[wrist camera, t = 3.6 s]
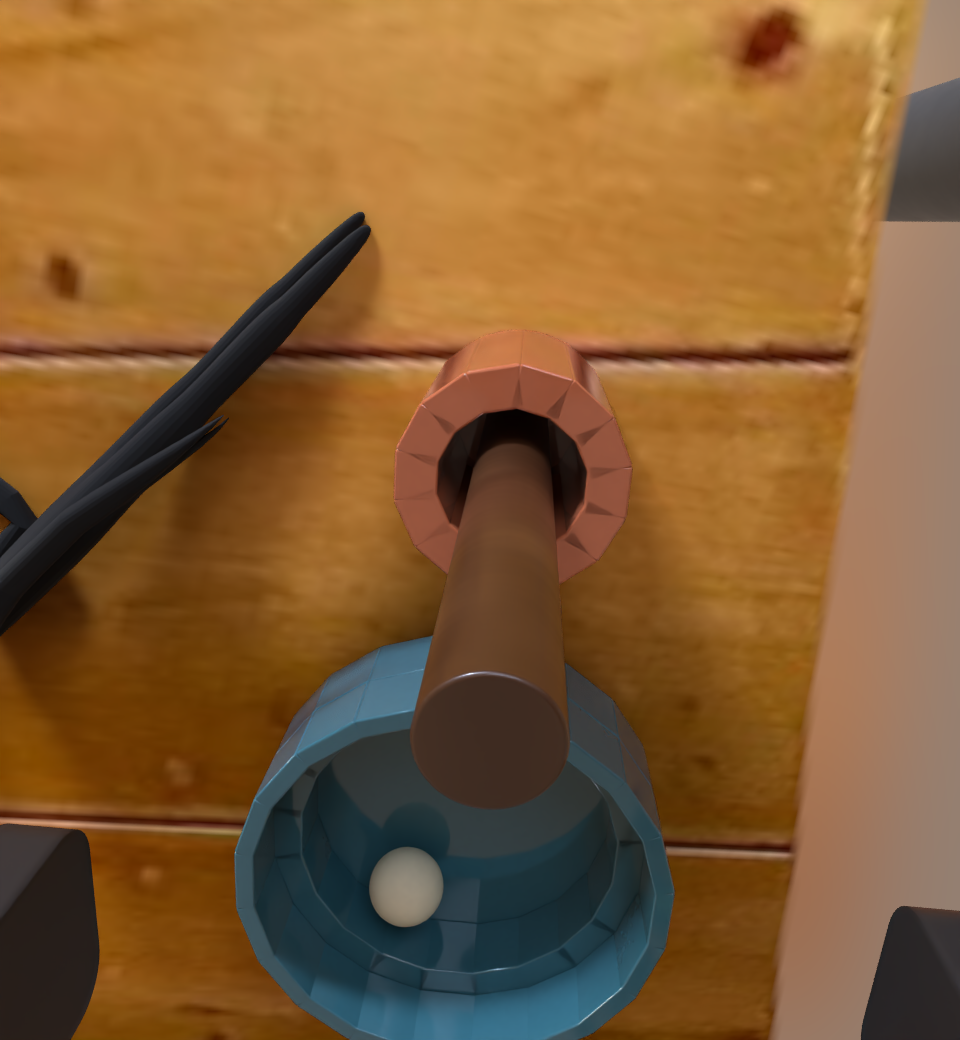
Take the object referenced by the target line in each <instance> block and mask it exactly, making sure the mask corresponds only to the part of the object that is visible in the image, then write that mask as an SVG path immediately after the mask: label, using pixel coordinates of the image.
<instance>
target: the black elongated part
mask: <svg viewBox="0 0 960 1040" xmlns="http://www.w3.org/2000/svg"><path fill="white" fill-rule="evenodd" d="M364 219H365V214H364V213H363V212H358V213H356V214H354V215H352V216H351V217H350V218H348V219H347V220H346V221H344V222H343V223H342V224H341V225H340V226H338V227H337V228H336V229H335V230H334V231H333V232H331V233H330V234H329V235H328V236H327V237H326V238H325V239H323V240H322V241H321V242H320V243H319V244H318V245H317V246H316V247H315V248H313V249H312V250H311V251H310V252H309V253H308V254H307V255H306V256H305V257H304V258H303V259H302V260H301V261H300V262H299V263H297V264H296V265H295V266H294V267H293V268H292V269H291V270H290V271H289V272H288V273H287V274H286V275H285V276H284V277H283V278H282V279H281V280H279V281H278V282H277V283H276V284H274V285H273V286H272V287H271V288H269V289H268V290H267V291H266V292H265V293H264V294H263V295H262V296H261V297H260V298H259V299H258V300H257V301H256V302H255V303H254V304H253V305H252V306H251V307H250V308H249V309H248V310H247V311H246V312H245V313H244V314H243V315H242V316H241V317H240V318H239V319H238V321H237V322H236V323H235V324H234V325H233V326H232V327H231V328H230V329H229V330H228V331H227V332H226V333H225V335H224V336H223V337H222V338H221V339H220V340H219V341H218V342H217V343H216V344H215V345H214V346H213V348H212V349H211V350H210V351H209V352H208V353H207V354H206V355H205V356H204V357H203V358H202V359H201V360H200V361H199V362H198V363H197V364H196V365H195V366H194V367H193V368H192V369H191V370H190V371H189V372H188V373H187V374H186V375H185V376H184V377H182V378H181V379H180V380H179V381H178V382H177V383H175V384H174V385H173V386H172V387H171V388H170V389H169V390H168V391H167V392H166V393H164V394H163V395H162V396H161V397H160V398H159V399H158V400H157V401H156V402H155V403H154V404H153V405H152V406H151V407H150V408H149V409H148V410H147V411H146V412H145V413H144V414H143V415H142V416H141V417H140V418H139V419H138V420H137V421H136V422H135V423H134V424H133V425H132V426H131V427H130V428H129V429H128V430H127V431H126V432H125V433H124V434H123V435H122V436H121V437H120V438H119V439H118V440H117V441H116V442H115V443H114V444H113V445H112V446H111V447H110V448H109V449H108V450H107V451H106V452H105V453H104V454H103V455H102V456H101V457H100V458H99V459H98V460H97V461H96V462H95V463H94V464H93V465H92V466H91V467H90V468H89V469H88V470H87V471H86V472H85V473H84V474H83V475H82V476H81V477H80V478H79V479H78V480H77V481H76V482H75V483H73V484H72V485H71V486H70V487H69V488H68V489H67V490H66V491H65V492H64V493H63V494H62V495H61V496H60V497H59V498H58V499H57V500H56V501H55V502H54V503H53V504H52V505H51V506H50V507H49V508H48V509H47V510H46V511H45V512H44V513H43V514H42V515H41V516H40V517H39V518H38V519H37V517H36V516H35V515H34V513H33V512H32V511H31V509H30V508H29V506H28V505H27V503H26V502H25V500H24V499H23V497H22V496H21V495H20V493H19V492H18V491H17V490H16V489H14V488H13V487H12V486H10V485H9V484H8V483H7V482H5V481H4V480H3V479H2V478H0V514H2V515H3V516H4V517H6V518H7V519H8V520H9V521H11V523H10V524H9V525H8V526H7V527H6V528H5V529H4V530H3V532H2V533H1V534H0V636H1V635H2V634H3V633H4V632H6V631H7V630H8V629H9V628H10V627H11V626H12V625H13V624H14V623H15V622H16V621H18V620H19V619H20V618H21V617H22V616H23V615H24V614H25V613H26V612H27V611H29V610H30V609H31V608H32V607H33V606H34V605H35V604H36V603H37V602H38V601H39V600H40V599H41V598H42V597H43V596H44V595H45V594H46V593H47V592H48V591H49V590H50V589H51V588H52V587H54V586H55V585H56V584H57V583H58V582H59V581H60V580H61V579H62V578H63V577H64V576H65V575H66V574H67V573H68V572H69V571H70V570H71V569H72V568H73V567H74V566H75V565H76V564H77V563H78V562H79V561H80V560H81V559H82V558H83V557H84V556H85V555H86V554H87V553H88V552H89V551H90V550H91V549H92V548H93V547H94V546H95V545H96V544H97V543H98V542H99V541H100V540H101V538H102V537H103V536H104V535H105V534H106V533H107V532H108V531H109V529H110V528H111V527H112V526H113V525H114V524H115V523H116V522H117V521H118V519H119V518H120V517H121V516H122V515H123V514H124V513H125V512H126V510H127V509H128V508H129V507H130V506H131V505H132V504H133V503H134V502H135V501H136V500H137V499H138V498H139V496H140V495H141V494H142V493H143V492H144V491H145V490H147V489H148V488H149V487H150V486H152V485H153V484H154V483H156V482H157V481H158V480H160V479H161V478H162V477H164V476H165V475H166V474H168V473H169V472H170V471H171V470H173V469H174V468H175V467H177V466H178V465H179V464H180V463H182V462H183V461H184V460H185V459H187V458H188V457H189V456H191V455H192V454H193V453H194V452H196V451H197V450H198V449H199V448H201V447H202V446H203V445H204V444H205V443H206V442H207V441H209V440H210V439H211V438H212V437H213V436H214V435H215V434H216V433H217V432H218V431H219V430H220V429H221V428H222V427H223V425H224V424H225V423H226V422H227V420H228V419H229V418H227V419H226V420H225V421H224V422H223V423H221V424H220V425H219V426H218V427H216V428H215V429H214V430H212V431H211V432H209V433H208V434H206V433H207V432H208V431H209V430H210V429H212V428H213V427H214V426H215V425H216V424H217V422H218V421H219V420H220V419H221V418H222V417H223V416H224V415H222V416H220V417H218V418H217V419H215V420H213V421H211V422H210V423H208V424H206V425H205V426H203V425H204V424H205V423H206V422H207V420H208V419H209V418H210V417H211V416H212V415H213V414H214V413H215V411H216V410H217V409H218V408H219V407H220V406H221V405H222V404H223V403H224V402H225V401H226V400H227V399H228V398H229V397H230V396H231V395H232V394H233V393H234V392H235V391H236V390H237V389H238V388H239V387H240V386H241V385H242V384H243V383H244V382H245V381H246V380H247V379H248V378H249V377H250V376H251V375H252V374H253V373H254V372H255V371H256V370H257V369H258V368H259V367H260V366H261V365H262V364H263V363H264V362H265V361H266V360H267V359H268V358H269V357H270V356H271V355H272V354H273V352H274V351H275V350H276V349H277V348H278V347H279V346H280V345H281V344H282V343H283V342H284V341H285V339H286V338H287V337H288V336H289V335H290V334H291V332H292V331H293V330H294V328H295V327H296V326H297V324H298V323H299V322H300V320H301V319H302V318H303V317H304V315H305V314H306V313H307V312H308V311H309V310H310V309H311V308H312V307H313V305H314V304H315V303H316V302H317V301H318V300H319V299H320V298H321V296H322V295H323V294H324V293H325V292H326V291H327V290H328V288H329V287H330V286H331V285H332V284H333V283H334V281H335V280H336V279H337V278H338V277H339V275H340V274H341V273H342V272H343V271H344V269H345V268H346V267H347V266H348V264H349V263H350V262H351V261H352V259H353V258H354V257H355V256H356V254H357V253H358V252H359V250H360V249H361V248H362V246H363V245H364V243H365V242H366V241H367V239H368V237H369V235H370V232H371V228H370V227H369V226H368V225H364V226H361V225H362V223H363V221H364ZM360 226H361V227H360ZM202 426H203V427H202ZM205 434H206V435H205Z"/></svg>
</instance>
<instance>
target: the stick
mask: <svg viewBox="0 0 960 1040" xmlns="http://www.w3.org/2000/svg"><path fill="white" fill-rule="evenodd" d="M410 745H411V750H412V754H413V757H414V760H415V762H416V764H417V766H418V768H419V770H420V772H421V773H422V775H423V776H424V777H425V779H426V780H427V781H428V782H429V783H430V784H431V786H433V787H434V788H435V789H436V790H437V791H438V792H440V793H441V794H443V795H444V796H446V797H447V798H449V799H451V800H453V801H455V802H457V803H460V804H463V805H465V806H469V807H473V808H479V809H491V810H496V809H506V808H511V807H515V806H519V805H522V804H524V803H527V802H529V801H531V800H533V799H535V798H536V797H538V796H540V795H541V794H542V793H544V792H545V791H546V790H547V789H548V788H549V787H550V786H551V785H552V784H553V783H554V782H555V781H556V779H557V778H558V777H559V775H560V774H561V772H562V770H563V768H564V766H565V764H566V761H567V758H568V754H569V748H570V734H569V719H568V705H567V690H566V676H565V661H564V647H563V632H562V618H561V603H560V589H559V574H558V560H557V545H556V531H555V516H554V502H553V487H552V473H551V458H550V444H549V429H548V418H544V417H541V416H538V415H535V414H531V413H528V412H525V411H521V410H518V409H515V410H508V411H501V412H494V413H488V414H487V415H486V419H485V423H484V427H483V431H482V436H481V440H480V444H479V448H478V452H477V456H476V460H475V464H474V468H473V473H472V477H471V481H470V485H469V489H468V493H467V497H466V501H465V505H464V510H463V514H462V518H461V522H460V526H459V530H458V534H457V538H456V542H455V547H454V551H453V555H452V559H451V563H450V567H449V571H448V575H447V579H446V584H445V588H444V592H443V596H442V600H441V604H440V608H439V612H438V616H437V621H436V625H435V629H434V633H433V637H432V641H431V645H430V649H429V653H428V657H427V662H426V666H425V670H424V674H423V678H422V682H421V686H420V690H419V694H418V699H417V703H416V707H415V711H414V715H413V719H412V723H411V730H410Z"/></svg>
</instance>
